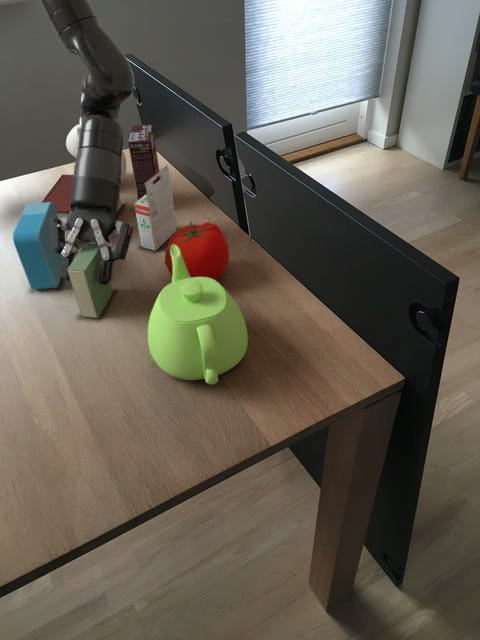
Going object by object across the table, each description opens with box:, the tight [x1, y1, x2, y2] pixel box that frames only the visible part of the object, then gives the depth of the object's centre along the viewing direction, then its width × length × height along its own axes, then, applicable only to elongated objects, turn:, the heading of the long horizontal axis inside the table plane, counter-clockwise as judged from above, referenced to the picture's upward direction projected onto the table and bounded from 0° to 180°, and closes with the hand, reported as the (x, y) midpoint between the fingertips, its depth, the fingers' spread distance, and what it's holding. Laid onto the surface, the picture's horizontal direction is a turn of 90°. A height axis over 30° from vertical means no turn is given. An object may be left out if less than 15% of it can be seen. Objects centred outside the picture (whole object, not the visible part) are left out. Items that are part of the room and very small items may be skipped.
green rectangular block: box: [67, 245, 114, 319], centre depth 90 cm, size 3×7×10 cm, turn 170°
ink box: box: [133, 165, 178, 251], centre depth 103 cm, size 4×8×15 cm, turn 153°
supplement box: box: [127, 124, 161, 201], centre depth 114 cm, size 9×5×16 cm, turn 4°
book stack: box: [40, 174, 124, 246], centre depth 112 cm, size 12×16×7 cm
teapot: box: [147, 244, 249, 385], centre depth 80 cm, size 22×15×13 cm
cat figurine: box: [65, 116, 128, 181], centre depth 122 cm, size 9×12×15 cm
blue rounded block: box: [12, 202, 66, 290], centre depth 97 cm, size 12×4×12 cm, turn 3°
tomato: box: [164, 220, 230, 281], centre depth 95 cm, size 11×13×10 cm
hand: (85, 282), depth 88 cm, fingers open, 5 cm apart
